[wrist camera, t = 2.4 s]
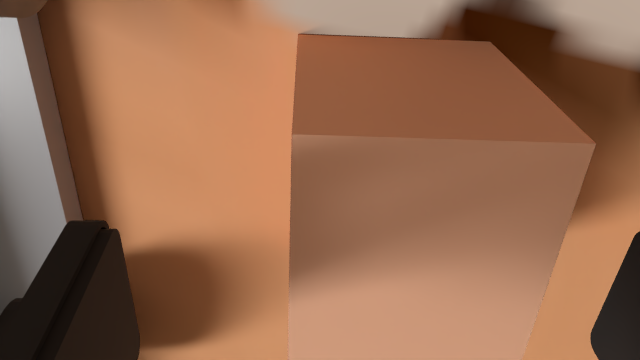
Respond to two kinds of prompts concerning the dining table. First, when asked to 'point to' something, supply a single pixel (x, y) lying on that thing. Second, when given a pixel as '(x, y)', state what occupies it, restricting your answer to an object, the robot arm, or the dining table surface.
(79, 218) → the chassis
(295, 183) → the terracotta rectangular box
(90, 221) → the robot arm
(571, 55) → the dining table surface
